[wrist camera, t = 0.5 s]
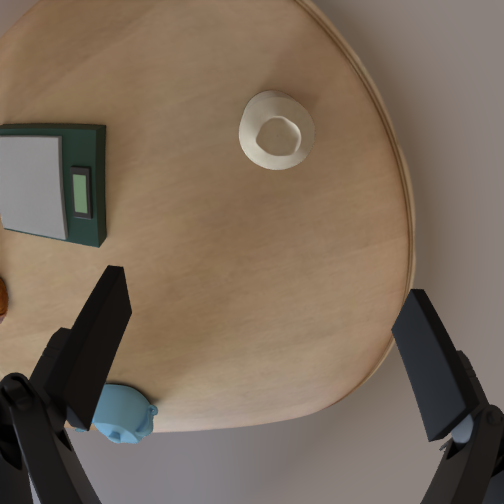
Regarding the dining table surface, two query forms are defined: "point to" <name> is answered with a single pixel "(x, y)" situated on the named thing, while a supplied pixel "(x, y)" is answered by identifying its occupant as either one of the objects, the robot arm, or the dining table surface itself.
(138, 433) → the teapot
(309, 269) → the dining table surface
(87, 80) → the dining table surface
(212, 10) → the dining table surface
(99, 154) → the scale
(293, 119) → the candle
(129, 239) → the dining table surface
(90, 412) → the robot arm
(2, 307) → the croissant
